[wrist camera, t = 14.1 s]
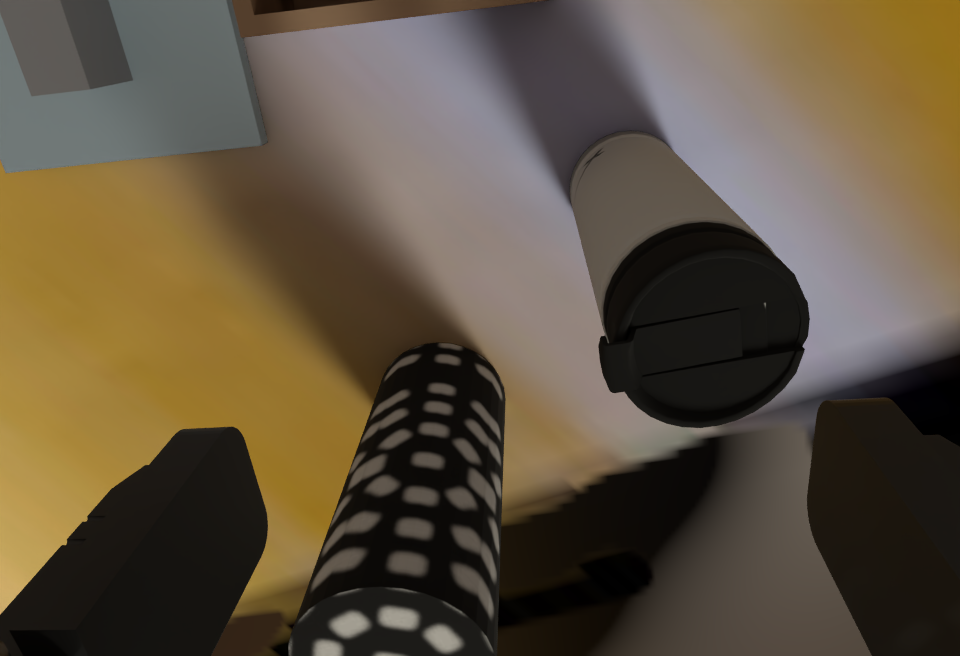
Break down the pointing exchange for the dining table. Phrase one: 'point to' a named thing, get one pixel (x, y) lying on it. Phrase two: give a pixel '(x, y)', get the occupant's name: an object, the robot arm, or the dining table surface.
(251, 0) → the box
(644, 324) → the travel mug
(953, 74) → the dining table surface
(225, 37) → the lid
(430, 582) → the spotted tube
